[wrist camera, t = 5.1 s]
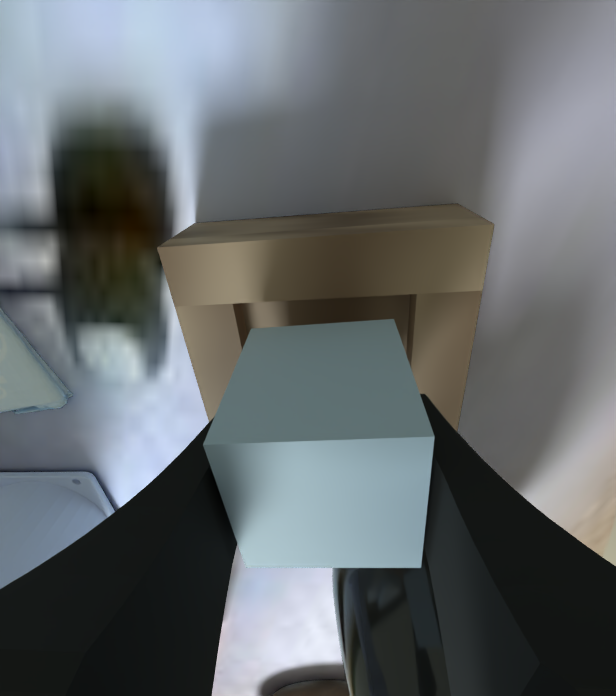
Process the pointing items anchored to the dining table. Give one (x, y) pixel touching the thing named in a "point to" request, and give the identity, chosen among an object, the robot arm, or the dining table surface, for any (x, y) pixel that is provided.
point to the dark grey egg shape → (389, 631)
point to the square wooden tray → (334, 287)
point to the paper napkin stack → (26, 375)
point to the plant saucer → (315, 688)
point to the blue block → (324, 448)
